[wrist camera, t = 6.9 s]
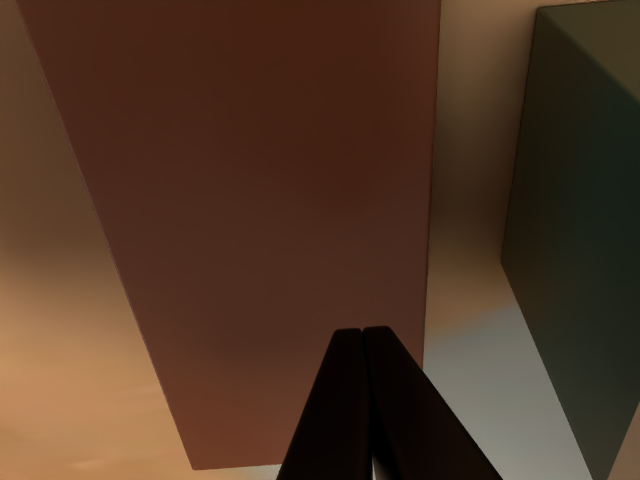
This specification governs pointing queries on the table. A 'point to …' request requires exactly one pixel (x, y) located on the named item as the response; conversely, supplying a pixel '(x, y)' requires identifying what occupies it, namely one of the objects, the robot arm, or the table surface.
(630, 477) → the tea box
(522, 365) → the table surface
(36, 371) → the table surface
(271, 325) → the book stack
